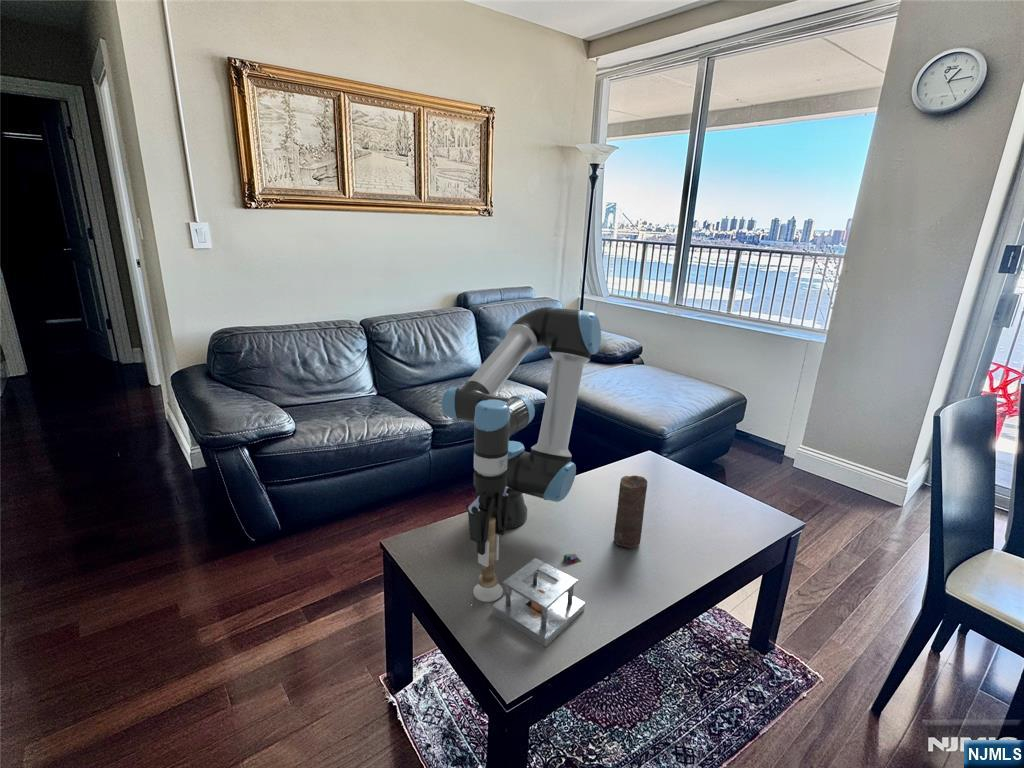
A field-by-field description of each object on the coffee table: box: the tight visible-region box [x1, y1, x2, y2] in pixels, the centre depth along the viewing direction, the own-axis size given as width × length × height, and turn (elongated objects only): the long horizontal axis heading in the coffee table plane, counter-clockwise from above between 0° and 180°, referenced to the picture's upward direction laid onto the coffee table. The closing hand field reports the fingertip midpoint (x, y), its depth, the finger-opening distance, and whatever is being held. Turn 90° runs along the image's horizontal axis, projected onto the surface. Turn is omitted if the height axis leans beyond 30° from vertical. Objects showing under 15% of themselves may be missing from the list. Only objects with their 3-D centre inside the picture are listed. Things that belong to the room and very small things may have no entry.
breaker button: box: [530, 590, 545, 614], centre depth 118 cm, size 4×4×4 cm
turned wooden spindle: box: [478, 516, 498, 588], centre depth 121 cm, size 4×4×17 cm
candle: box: [613, 475, 648, 549], centre depth 143 cm, size 8×7×20 cm
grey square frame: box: [491, 557, 586, 648], centre depth 118 cm, size 15×15×8 cm
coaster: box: [472, 582, 504, 603], centre depth 124 cm, size 7×7×1 cm
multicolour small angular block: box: [563, 553, 582, 565], centre depth 137 cm, size 4×3×2 cm, turn 118°
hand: (488, 560), depth 122 cm, fingers closed on turned wooden spindle, 3 cm apart
